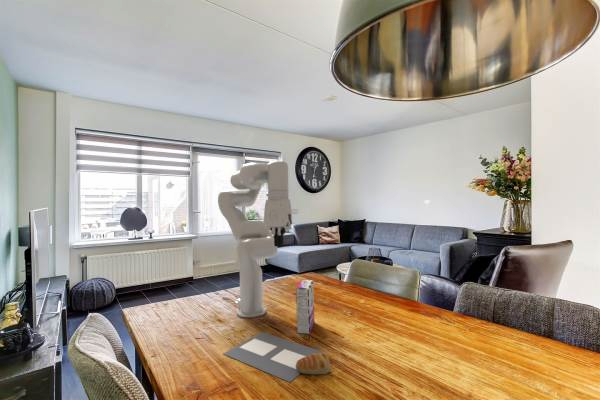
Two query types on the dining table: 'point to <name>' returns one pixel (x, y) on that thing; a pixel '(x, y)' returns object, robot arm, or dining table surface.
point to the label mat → (272, 355)
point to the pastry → (314, 364)
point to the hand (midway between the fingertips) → (278, 245)
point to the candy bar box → (305, 306)
